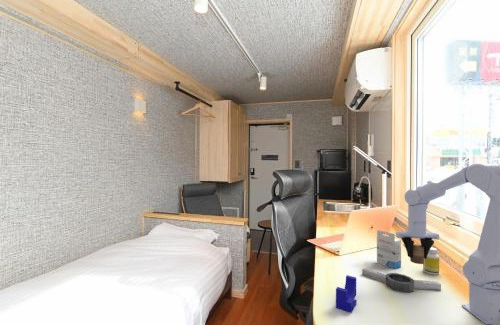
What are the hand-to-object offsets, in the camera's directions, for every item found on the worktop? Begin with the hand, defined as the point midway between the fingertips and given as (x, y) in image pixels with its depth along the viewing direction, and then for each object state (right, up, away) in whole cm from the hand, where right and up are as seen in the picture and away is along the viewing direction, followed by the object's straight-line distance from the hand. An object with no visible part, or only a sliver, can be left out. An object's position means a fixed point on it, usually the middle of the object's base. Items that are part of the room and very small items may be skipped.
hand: (417, 257), depth 96 cm
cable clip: (-32, -9, -16) cm, 37 cm away
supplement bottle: (+11, -9, +8) cm, 16 cm away
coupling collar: (-8, -9, -2) cm, 12 cm away
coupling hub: (0, -2, 0) cm, 2 cm away
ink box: (-2, -9, +15) cm, 18 cm away
